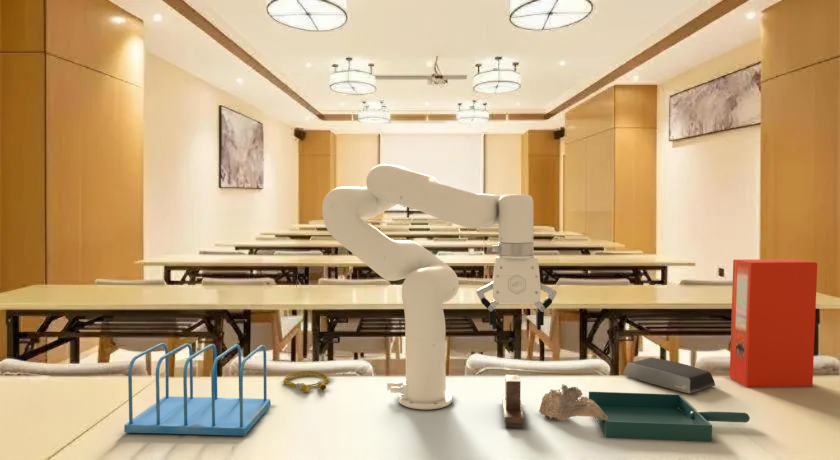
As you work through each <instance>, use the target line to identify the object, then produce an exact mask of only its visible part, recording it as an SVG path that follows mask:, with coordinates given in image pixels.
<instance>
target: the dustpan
mask: <svg viewBox="0 0 840 460" xmlns="http://www.w3.org/2000/svg"><path fill="white" fill-rule="evenodd" d="M588 399H591V400H593V401H594V402H595V403H596V404H597V405H598V406H599V407H600V408H601V409H602V411H603V412H604V413H605V414H606V415H607V417H608V421H604V420H601V419H600V418H597V417H594V418H595V419H596V422H597V423H598V425H599V427H600V429H601V431H602V433H603V435H604V437H605V438H617V439H618V438H619V439H642V440H643V439H645V440H665V441H666V440H667V441H689V442H690V441H691V442H692V441H693V442H710V441H713V425H712V423H710V422H721V423H743V424H744V423H746V424H747V423H748V422H750V420H751V418H750V415H749V414H748V413H746V412H741V411H740V412H737V411H736V412H735V411H711V410H709V411H707V410H697V409H696V407H694V406H693V405H692V404H690V402H688V401H687V400H686V399H685V398H684V396H682V394H677V393H676V394H674V393H673V394H672V393H646V392H644V393H643V392H617V391H615V392H613V391H588Z"/></svg>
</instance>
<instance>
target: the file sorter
mask: <svg viewBox="0 0 840 460" xmlns="http://www.w3.org/2000/svg"><path fill="white" fill-rule="evenodd" d="M162 346H163V349H164V353H165V354H163V355H162V356H160V358H159V359H158V361H157V363H156V366H155V402H154V404H152V405H150V406H149V407H147V408H146V409H145V410H143V411H142V412H140V413H139V414H138V415H136V416H135V417H134V418H133V416H134V415H133V412H134V411H133V366H134V363H135V362H136V361H137V359H139V358H141V357H143V356H144V355H147V354H148V353H150V352H152V351H154V350H156V349H158V348H160V347H162ZM185 347H187V348H188V352H189V353H188V354H189V357H187V358H186V360H185V362H184V364H183V371H182V372H183V376H182V378H183V380H182V381H183V385H182V386H183V387H182V388H183V396H169V393H170V392H169V391H170V388H169V387H170V384H169V381H170V380H169V371H170V370H169V357H170V356H171V355H173V354H175V353H177V352H178V351H180V350H182V349H184V348H185ZM210 348H212V350H213V362H212V365H211V371H210V372H211V373H210V375H211V376H210V377H211V378H210V379H211V382H210V383H211V385H210V386H211V388H210V389H211V396H210V397H209V396H208V397H207V396H206V397H205V396H204V397H203V396H194V373H193V372H194V371H193V370H194V369H193V368H194V367H193V365H194V364H193V363H194V362H193V361H194V360H193V359H194V358H196V357H197V356H199V355H200V354H202V353H204V352H206V351H207V350H209V349H210ZM236 348H237V357H238V358H237V359H238V360H237V361H238V397H218V361H219V360H221V359H222V358H224V357H225V356H227V355H228V354H229V353H230V352H232V351H233V350H235V349H236ZM261 349H262V356H263V357H262V358H263V398H253V397H251V398H249V397H248V398H247V397H246V398H245V397H244V368H245V364H246V362H247V361H248V360H249V359H250V358H252V357H253V356H254V355H255V354H256V353H258V352H259V351H260V350H261ZM217 351H218V350H217V347H216V344H214V343H210V344H208V345H206V346H205V347H203V348H201V349H199V350H198V351H197V352H194V353H193V348H192V345H191V344H190V343H183V344H181V345H180V346H178V347H176V348H174V349H172V350H171V351H169V348H168V345H167V344H166V343H165V342H160V343H158V344H155V345H154V346H151V347H150V348H147V349H146V350H144V351H142V352H139V354H136V355H134V356H133V357H132V358H131V360H130V363H129V364H128V365H129V366H128V372H127V376H128V378H127V380H128V383H127V384H128V387H127V389H128V421H127V422H126V423H125V424H123V425H124V426H123V427H124V429H123V432H124V433H126V434H127V433H129V434H130V433H131V434H167V435H169V434H170V435H171V434H173V435H206V436H207V435H208V436H238V437H239V436H240V437H245V436H246V435H247V434H248V433H249V432H250V430H251V429H252V428H253V427H254V426H255V424H256V423H257V422H258V421H259V420H260V419H261V418H262V417H263V415H264V414H265V413H266V411H268V409H269V408H270V407H271V406H272V405H271V403H272V402H271V398H267V397H268V396H267V390H268V389H267V387H268V386H267V385H268V384H267V349H266V345H264V344H260V345H259V346H257V347H256V348H255V349H254V350H252V351H251V352H250V353H249V354H248V355H246V356H245V357H244V358H243V359H242V349H241V346H240V345H239V344H234V345H232V346H231V347H229V348H228V349H226V350H225V351H223V352H222V353H221V354H219V355H218V352H217ZM163 360H165V396H164V397H162V398H161V397H160V368H161V364H162V362H163ZM188 366H189V396H188Z"/></svg>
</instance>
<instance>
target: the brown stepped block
mask: <svg viewBox="0 0 840 460" xmlns="http://www.w3.org/2000/svg"><path fill="white" fill-rule="evenodd" d="M520 378H521V377H520V374H505V383H504V385H505V389H504V390H505V391H504V394H502V397H501V398H502V399H501V400H502V401H501V403H502V411H503V420H504V421H503V422H504V426H505V429H521V430H522V429H524V424H525V416H524V410H523V405H522V401H521V379H520Z"/></svg>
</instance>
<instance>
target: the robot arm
mask: <svg viewBox="0 0 840 460" xmlns="http://www.w3.org/2000/svg"><path fill="white" fill-rule="evenodd" d="M365 180H366V185H365V186H362V187H361V186H339V187H336V188H333V189H331V190H330V191H329V192H327V194H325V196H324V198H323V201H322V206H321V215H322V220H323V223H324V226H325V228H326V230H327V232H328V233H329V234H330V236H332V238H333V239H334V240H335V241H336V242H337V243H339V244H340V245H341V246H342V247H344V248H345V249H346V250H348V251H349V252H350V253H351V254H353V255H354V256H355V257H357V258H358V260H359V261H361V262H362V263H364V264H365V265H366V266H367V267H368V268H370V269H371V270H372V271H373V272H374V273H376V274H377V275H378V276H379V277H381V278H382V279H384V280H386V281H390V282H396V281H401V280H404V281H403V282H402V286H401V299H402V300H401V301H402V305H403V312H404V323H405V324H404V335H405V378H404V380H402V381H400V382H396V381H395V382H394V381H388V382H387V383H386V384H387V385H386V390H387V391H390V393H394V394H396V393H397V394H398V393H400V394H399V396H398V402H399V404H401V406H404V407H406V408H409V409H414V410H423V411H424V410H427V411H428V410H438V409H442V408H445V407H448V406H449V405H450V404H451V403H452V402H453V395H452V394H451V393H450V392H448V391H446V388H447V387H446V383H447V382H446V381H447V380H446V379H447V378H446V375H447V373H446V367H447V366H446V363H447V362H446V359H447V357H446V356H447V355H446V354H447V353H446V352H447V351H446V350H447V348H446V346H447V341H446V340H447V339H446V337H447V335H446V334H447V332H446V331H447V329H446V328H447V327H446V319H445V318H446V317H445V313H444V308H443V307H444V306H443V304H446V303H447V302H449V301H452V299H453V298H455V297H456V295H457V294H458V292H459V289H460V283H459V278H458V274H457V273H456V272H455V271H454V269H453V268H452V267H451V266H449V264H447V263H446V262H444V261H443V260H442V259H440V258H439V257H438V256H436V255H435V254H434V253H432V252H431V251H429V250H428V249H427V248H426V247H424V246H422V245H421V244H419V243H417V242H415V241H412V240H409V239H408V240H405V239H404V240H394V239H393V238H390V237H389V236H387V235H386V234H384V233H383V232H382V231H381V230H379V228H377V227H375V226H373V225H372V224H370V223H369V222H367V220H370V219H373V218H375V217H378V216H379V215H381V214H383V213H384V212H386V211H388V210H390V209H391V208H393V207H394V206H397V205H400V206H403V207H406V208H409V209H412V210H414V211H415V210H416V211H419V212H422V213H423V214H425V215H428V216H430V217H433V218H436V219H438V220H441V221H445V222H447V223H451V224H454V225H457V226H461V227H464V228H469V229H480V228H481V229H482V228H489V227H496V226H498V243H497V244H495V245H492V246H491V251H492V252H493V253H494V252H495V253H497V254H498V256H495V259H494V265H493V273H492V281H491V282H490V283H487V284H486V285H484V286H482V287H480V288H478V289H476V295H477V297H478V299H479V300H480V303H481V304H482V305H483V306H484V307H485V308H486V309H487V310H488V313H489V315H488V317H489V321H488V323H489V326H492V330H496V329H497V310H496V308H497V306H498V305H499V304H506V305H507V304H508V305H509V304H511V305H512V304H514V305H515V304H517V305H518V304H519V305H522V304H523V305H524V304H525V305H526V304H527V305H531V304H532V305H533V304H534V306H536V310H535V328H536V329H537V330H538V331H542V326H544V325H545V320H544V319H545V311H546V310H547V308H549V307H550V306H551V305H552V303H553V301H554V299H555V298H556V296H557V293H558V292H557V290H555V289H554V288H552V287H549V286H548V285H546V284H544V283H543V282H541V275H540V267H539V266H540V265H539V260H538V257H537V256H535V252H534V251H535V249H534V243H535V242H534V238H535V237H534V234H535V233H534V231H535V230H534V226H535V225H534V220H535V219H534V208H535V207H534V205H535V204H534V198H533V197H532V196H531V195H530V194H526V193H509V194H502V195H497V194H491V193H490V194H489V193H480V192H479V193H477V192H476V193H475V192H470V191H467V190H463V189H459V188H455V187H452V186H449V185H446V184H444V183H441V182H439V181H438V179H436V177H434V176H432V175H428V174H425V173H420V172H416V171H414V170H410V169H408V168H407V167H405V166H403V165H395V164H388V163H381V164H378V165H374V166H373V167H372V168H371V169H370V170H369V172H368V173H367V176H366V179H365ZM490 291H492V300H491V301H489V300H488V299H487V298H486V296H485V293H488V292H490ZM541 291H542V292H545V293H546V294H547V297H546V299H544V300H543V301H542V302H541Z"/></svg>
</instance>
